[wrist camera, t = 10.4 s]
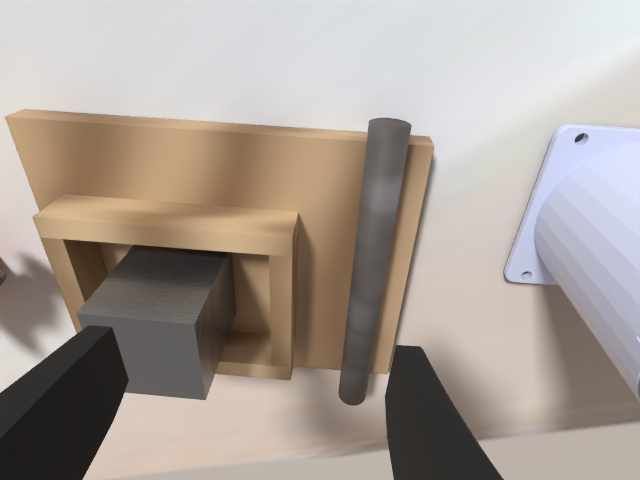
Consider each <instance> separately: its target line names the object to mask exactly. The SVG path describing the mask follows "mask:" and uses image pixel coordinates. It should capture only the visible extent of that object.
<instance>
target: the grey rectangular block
mask: <svg viewBox="0 0 640 480" xmlns="http://www.w3.org/2000/svg"><path fill="white" fill-rule="evenodd" d="M76 314H77V317H78V320H79V322H80V325H81V328H82V330H83V329H84V328H86V327H87V326H88V325H92V326H107V327H112V328H113V331H114V334H115V337H116V340H117V344H118V347H119V350H120V353H121V356H122V359H123V363H124V366H125V369H126V372H127V375H128V379H129V381H128V384H127V387H126V390H125V392H127V393H137V394H148V395H158V396H168V397H179V398H189V399H200V400H206V398H207V395H208V392H209V389H210V386H211V384H212V381H213V378H214V375H215V372H216V369H217V367H218V364H219V361H220V358H221V355H222V352H223V350H224V347H225V344H226V341H227V338H228V335H229V333H230V330H231V327H232V324H233V321H234V318H235V315H236V301H235V287H234V273H233V259H232V252H223V251H210V250H197V249H184V248H171V247H158V246H145V245H133V247H132V248H131V249H130V250H129V251H128V253H127V254H126V255H125V256H124V257H123V258H122V260H121V261H120V262H119V263H118V264H117V266H116V267H115V268H114V269H113V270H112V272H111V273H110V274H109V275H108V276H107V278H106V279H105V280H104V281H103V282H102V284H101V285H100V286H99V287H98V288H97V289H96V291H95V292H94V293H93V294H92V295H91V297H90V298H89V299H88V300H87V301H86V303H85V304H84V305H83V306H82V307H81V309H80V310H79V311H78V312H77V313H76Z"/></svg>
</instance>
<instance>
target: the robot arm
mask: <svg viewBox="0 0 640 480" xmlns="http://www.w3.org/2000/svg"><path fill="white" fill-rule="evenodd" d="M581 133H584V137H583V138H582V140H580V141H579V142H575V138H576V137H577V136H578V135H579V134H581ZM526 271H529V272H528V273H527V274H525V275H522V273H524V272H526ZM504 274H505V276H506V278H507V280H509V281H511V282H520V283H532V284H545V285H558V286H560V287H561V289H562V290H563V292H564V293H565V295H566V296H567V297H568V299H569V300H570V302H571V303H572V305H573V306H574V308H575V309H576V310H577V312H578V313H579V315H580V316H581V318H582V319H583V321H584V322H585V324H586V325H587V326H588V328H589V329H590V331H591V332H592V334H593V335H594V337H595V338H596V339H597V341H598V342H599V344H600V345H601V347H602V348H603V350H604V351H605V353H606V354H607V355H608V357H609V358H610V360H611V361H612V363H613V364H614V366H615V367H616V369H617V370H618V371H619V373H620V374H621V376H622V377H623V379H624V380H625V382H626V383H627V384H628V386H629V387H630V389H631V390H632V392H633V393H634V395H635V396H636V398H637V399H638V400H639V402H640V128H625V127H610V126H594V125H579V124H565V125H563V126H561V127H559V128H558V129H557V130H556V131H555V133H554V135H553V137H552V140H551V143H550V145H549V148H548V151H547V154H546V156H545V159H544V162H543V165H542V167H541V170H540V173H539V176H538V178H537V181H536V184H535V187H534V189H533V192H532V195H531V198H530V200H529V203H528V206H527V209H526V211H525V214H524V217H523V220H522V222H521V225H520V228H519V231H518V233H517V236H516V239H515V242H514V244H513V247H512V250H511V253H510V255H509V258H508V261H507V264H506V266H505V269H504ZM128 381H129V379H128V375H127V372H126V369H125V366H124V363H123V359H122V356H121V353H120V350H119V347H118V344H117V340H116V337H115V334H114V331H113V328H112V327H107V326H92V325H88V326H87V327H86V328H84V329H83V330H82V331H80V332H79V333H78V334H76V335H75V336H74V337H72V338H71V339H70V340H68V341H67V342H66V343H65V344H63V345H62V346H61V347H59V348H58V349H57V350H56V351H54V352H53V353H52V354H50V355H49V356H48V357H47V358H45V359H44V360H43V361H42V362H40V363H39V364H38V365H36V366H35V367H34V368H32V369H31V370H30V371H29V372H27V373H26V374H25V375H23V376H22V377H21V378H19V379H18V380H17V381H15V382H14V383H13V384H12V385H10V386H9V387H8V388H6V389H5V390H4V391H2V392H1V393H0V480H82V479H83V478H84V476H85V474H86V472H87V470H88V468H89V466H90V464H91V462H92V461H93V459H94V457H95V455H96V453H97V451H98V449H99V447H100V445H101V444H102V442H103V440H104V438H105V436H106V434H107V432H108V430H109V428H110V426H111V424H112V422H113V420H114V418H115V416H116V413H117V411H118V408H119V406H120V403H121V400H122V398H123V395H124V392H125V390H126V387H127V384H128ZM385 405H386V424H387V438H388V445H389V451H390V458H391V464H392V470H393V476H394V480H504V479H503V478H502V477H501V475H500V474H499V473H498V471H497V470H496V469H495V467H494V466H493V464H492V463H491V462H490V460H489V458H488V457H487V455H486V454H485V453H484V451H483V450H482V448H481V447H480V445H479V444H478V442H477V441H476V439H475V438H474V436H473V435H472V433H471V432H470V430H469V428H468V427H467V425H466V424H465V422H464V421H463V419H462V417H461V416H460V414H459V413H458V411H457V409H456V408H455V406H454V404H453V403H452V401H451V399H450V398H449V396H448V394H447V393H446V391H445V389H444V387H443V386H442V384H441V382H440V380H439V379H438V377H437V375H436V373H435V371H434V369H433V368H432V366H431V364H430V362H429V360H428V358H427V356H426V354H425V352H424V350H423V349H422V348H421V347H418V346H402V345H396V347H395V352H394V357H393V362H392V366H391V371H390V376H389V381H388V385H387V390H386V395H385Z"/></svg>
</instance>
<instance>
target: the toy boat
mask: <svg viewBox="0 0 640 480" xmlns="http://www.w3.org/2000/svg"><path fill="white" fill-rule="evenodd" d="M5 278H6V273H4V272H2V271H0V285H1V284H2V283H3V281H4V280H5Z"/></svg>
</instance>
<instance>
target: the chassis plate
mask: <svg viewBox="0 0 640 480" xmlns="http://www.w3.org/2000/svg"><path fill="white" fill-rule="evenodd" d="M5 119H6V121H7V124H8V127H9V130H10V132H11V135H12V138H13V140H14V143H15V146H16V149H17V151H18V154H19V157H20V159H21V162H22V165H23V168H24V170H25V173H26V176H27V178H28V181H29V184H30V187H31V189H32V192H33V195H34V197H35V200H36V203H37V205H38V208H39V211H40V212H39V213H37V214H36V215H35V216H33V217H32V218H33V220H34V223H35V225H36V228H37V231H38V233H39V236H40V238H41V241H42V244H43V246H44V249H45V251H46V254H47V257H48V259H49V262H50V264H51V267H52V270H53V272H54V275H55V278H56V280H57V283H58V285H59V288H60V291H61V293H62V296H63V298H64V301H65V304H66V306H67V309H68V311H69V314H70V317H71V319H72V322H73V325H74V327H75V330H76V332H77V334H78V333H79V332H80V331H82V328H81V325H80V322H79V320H78V317H77V314H76V313H77V312H78V311H79V310H80V309H81V307H82V306H83V305H84V304H85V303H86V301H87V300H88V299H89V298H90V297H91V295H92V294H93V293H94V292H95V291H96V289H97V288H98V287H99V286H100V285H101V284H102V282H103V281H104V280H105V279H106V278H107V276H108V275H109V274H110V273H111V272H112V270H113V269H114V268H115V267H116V266H117V264H118V263H119V262H120V261H121V260H122V258H123V257H124V256H125V255H126V254H127V253H128V251H129V250H130V249H131V248H132V247H133V245H145V246H158V247H171V248H184V249H197V250H210V251H223V252H232V259H233V273H234V287H235V301H236V315H235V318H234V321H233V324H232V327H231V330H230V333H229V335H228V338H227V341H226V344H225V347H224V350H223V352H222V355H221V358H220V361H219V364H218V367H217V369H216V372H215V374H225V375H236V376H247V377H259V378H270V379H282V380H291V374H292V368H293V366H297V367H309V368H320V369H332V370H341V375H340V384H339V397H340V399H341V400H342V401H343V402H344V403H346V404H348V405H359V404H361V403H362V402H363V401H364V399H365V396H366V390H367V385H368V379H369V373H378V374H387V373H388V368H389V363H390V358H391V353H392V349H393V344H394V339H395V334H396V329H397V324H398V320H399V315H400V310H401V305H402V300H403V295H404V290H405V286H406V281H407V276H408V271H409V266H410V261H411V256H412V252H413V247H414V242H415V237H416V232H417V227H418V222H419V218H420V213H421V208H422V203H423V198H424V193H425V188H426V184H427V179H428V174H429V169H430V164H431V159H432V154H433V150H434V145H433V143H432V141H431V139H430V137H426V136H411V135H410V132H411V124H409V123H408V122H405V121H402V120H398V119H392V118H376V119H372V120H370V121H369V127H368V133H367V132H352V131H337V130H323V129H308V128H293V127H278V126H263V125H249V124H234V123H219V122H204V121H190V120H175V119H160V118H145V117H130V116H116V115H101V114H86V113H71V112H57V111H42V110H27V109H24V110H21V111H18V112H16V113H13V114H11V115H8V116H5Z"/></svg>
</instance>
